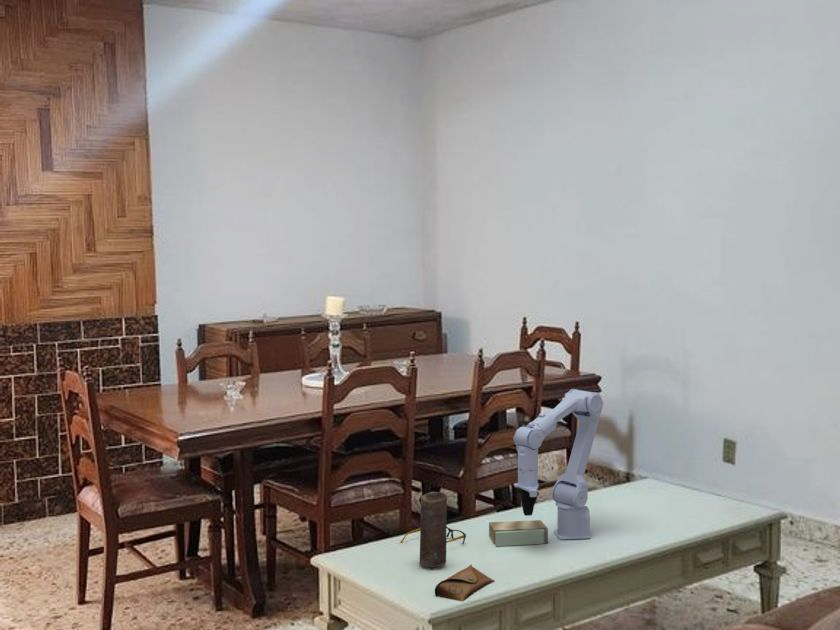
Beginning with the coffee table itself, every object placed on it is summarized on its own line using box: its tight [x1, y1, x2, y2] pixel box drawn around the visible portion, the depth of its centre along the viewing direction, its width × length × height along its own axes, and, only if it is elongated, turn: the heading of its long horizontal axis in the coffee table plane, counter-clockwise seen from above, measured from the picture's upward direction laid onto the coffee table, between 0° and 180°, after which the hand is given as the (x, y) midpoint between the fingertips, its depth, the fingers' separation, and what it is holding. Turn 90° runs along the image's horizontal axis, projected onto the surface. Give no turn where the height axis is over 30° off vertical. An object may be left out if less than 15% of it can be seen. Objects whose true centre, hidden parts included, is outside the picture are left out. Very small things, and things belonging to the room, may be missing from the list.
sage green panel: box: [494, 528, 549, 547], centre depth 287 cm, size 16×1×4 cm, turn 100°
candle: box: [419, 491, 448, 569], centre depth 269 cm, size 8×7×20 cm
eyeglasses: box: [399, 525, 467, 545], centre depth 289 cm, size 14×14×4 cm
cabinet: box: [488, 519, 548, 545], centre depth 293 cm, size 16×8×4 cm, turn 96°
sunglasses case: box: [434, 564, 495, 602], centre depth 254 cm, size 18×7×7 cm, turn 148°
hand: (527, 514), depth 284 cm, fingers closed
